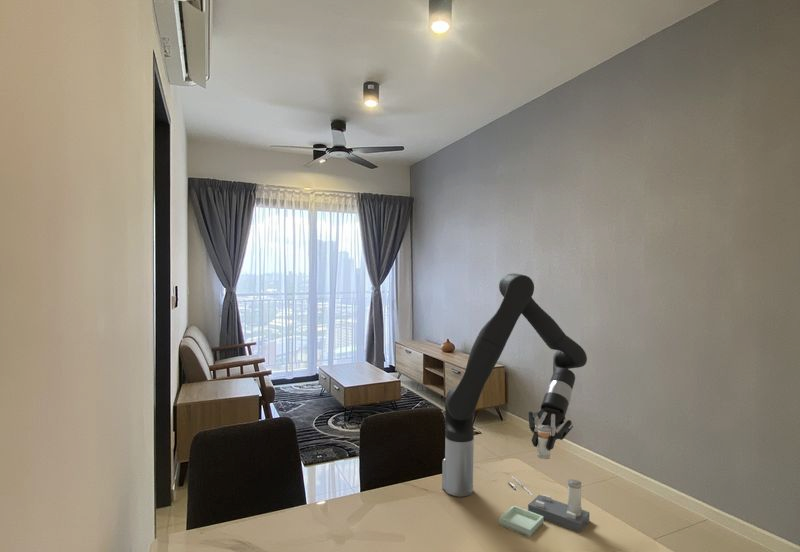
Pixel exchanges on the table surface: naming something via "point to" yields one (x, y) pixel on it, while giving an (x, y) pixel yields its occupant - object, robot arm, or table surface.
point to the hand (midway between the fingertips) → (541, 447)
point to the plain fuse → (574, 497)
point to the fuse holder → (558, 513)
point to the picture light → (519, 484)
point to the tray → (521, 521)
